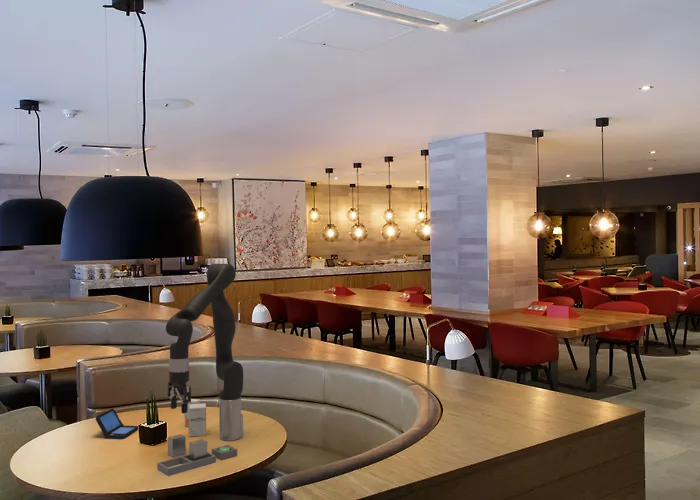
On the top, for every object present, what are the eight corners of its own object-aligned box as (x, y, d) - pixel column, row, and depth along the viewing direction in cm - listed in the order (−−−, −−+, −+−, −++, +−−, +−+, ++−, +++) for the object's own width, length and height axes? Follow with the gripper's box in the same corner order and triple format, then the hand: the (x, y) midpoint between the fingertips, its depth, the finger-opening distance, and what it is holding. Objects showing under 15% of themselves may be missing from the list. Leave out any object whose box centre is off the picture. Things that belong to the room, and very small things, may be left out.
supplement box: (189, 437, 263) (188, 408, 263) (188, 432, 270) (188, 403, 270) (206, 435, 265) (206, 407, 265) (205, 430, 272) (205, 402, 272)
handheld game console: (123, 440, 260) (123, 418, 260) (94, 439, 262) (94, 417, 262) (140, 428, 276) (140, 408, 276) (113, 427, 278) (112, 407, 277)
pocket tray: (205, 458, 237) (205, 449, 237) (217, 465, 230) (217, 456, 230) (155, 472, 223) (155, 462, 223) (167, 479, 216) (167, 470, 216)
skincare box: (184, 426, 278) (184, 400, 278) (189, 424, 282) (189, 398, 282) (195, 428, 276) (195, 401, 276) (200, 425, 280) (200, 399, 280)
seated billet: (202, 459, 233) (202, 438, 233) (207, 462, 230) (207, 441, 230) (189, 463, 230) (188, 441, 229) (194, 466, 227) (194, 444, 226)
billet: (180, 454, 242) (180, 433, 242) (185, 456, 239) (185, 436, 239) (167, 457, 239) (167, 436, 239) (172, 460, 236) (172, 439, 236)
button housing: (227, 453, 243) (227, 444, 243) (237, 458, 237) (237, 449, 237) (212, 457, 238) (211, 449, 238) (221, 462, 233) (221, 453, 233)
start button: (226, 451, 240) (226, 446, 240) (231, 453, 238) (231, 448, 237) (217, 453, 238) (217, 448, 238) (222, 456, 235) (222, 451, 235)
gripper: (161, 368, 241) (161, 408, 241) (179, 373, 230) (179, 416, 231) (179, 365, 246) (178, 405, 246) (197, 370, 236) (196, 412, 236)
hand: (179, 410), depth 238 cm, fingers open, 8 cm apart
